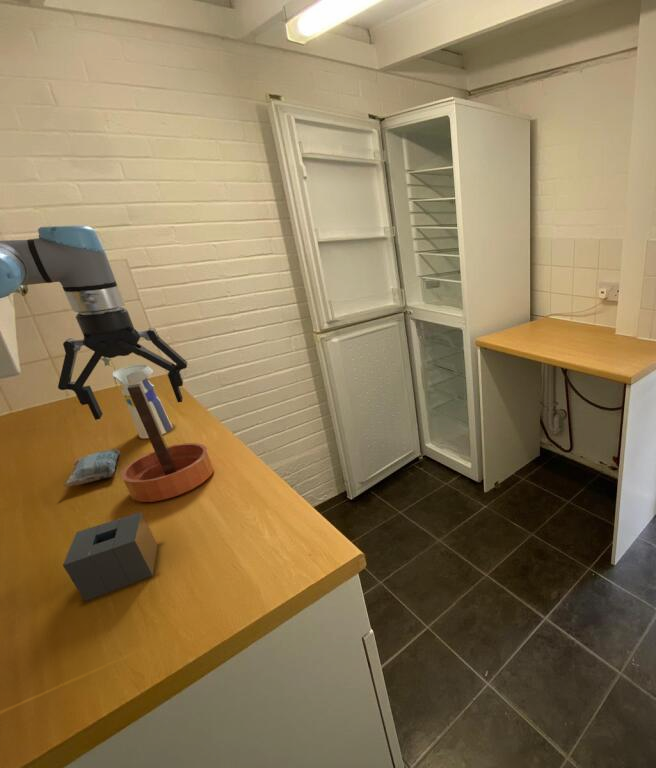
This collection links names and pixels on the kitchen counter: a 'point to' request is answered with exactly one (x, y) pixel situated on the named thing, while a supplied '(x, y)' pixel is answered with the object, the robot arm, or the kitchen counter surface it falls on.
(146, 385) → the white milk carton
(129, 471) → the bowl
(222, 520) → the kitchen counter surface
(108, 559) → the stick holder
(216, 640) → the kitchen counter surface
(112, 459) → the packaged food
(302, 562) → the kitchen counter surface
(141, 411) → the wooden stick
